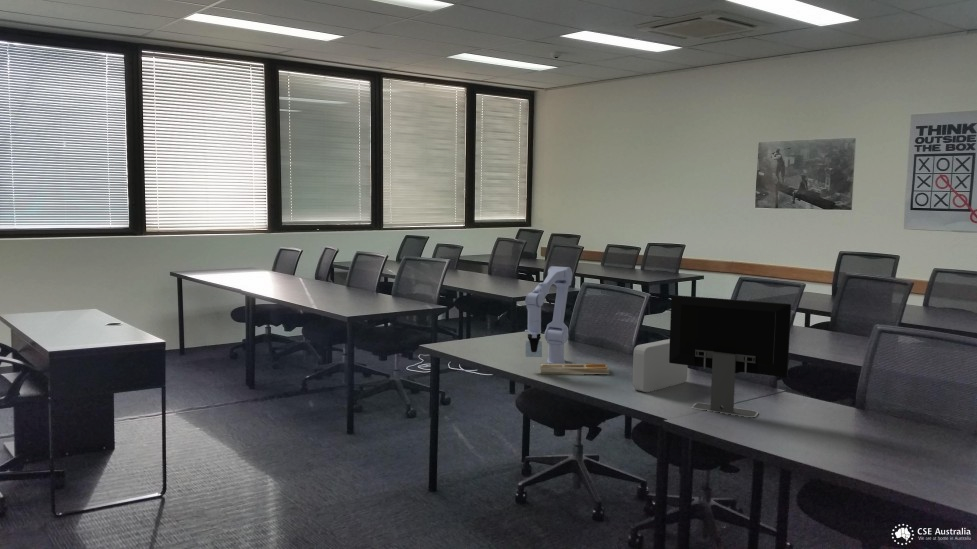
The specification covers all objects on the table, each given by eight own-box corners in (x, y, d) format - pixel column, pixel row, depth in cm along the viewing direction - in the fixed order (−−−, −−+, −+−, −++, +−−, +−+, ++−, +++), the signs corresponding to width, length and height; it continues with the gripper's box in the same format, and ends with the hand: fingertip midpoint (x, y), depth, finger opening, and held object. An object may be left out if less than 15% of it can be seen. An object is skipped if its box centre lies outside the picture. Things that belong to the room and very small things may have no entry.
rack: (540, 368, 323) (540, 362, 323) (606, 369, 322) (606, 363, 322) (540, 373, 314) (541, 367, 314) (609, 374, 313) (609, 368, 313)
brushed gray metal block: (525, 355, 320) (525, 340, 319) (541, 355, 319) (541, 341, 319) (525, 356, 317) (525, 342, 317) (541, 357, 317) (541, 342, 316)
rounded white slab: (671, 378, 308) (673, 336, 306) (687, 382, 302) (688, 339, 300) (627, 389, 290) (628, 344, 288) (642, 393, 284) (644, 348, 282)
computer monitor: (786, 416, 256) (792, 303, 251) (782, 422, 248) (788, 306, 244) (670, 399, 276) (674, 294, 272) (664, 404, 269) (667, 296, 265)
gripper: (525, 317, 324) (524, 347, 326) (525, 323, 310) (524, 354, 311) (540, 317, 324) (540, 347, 325) (541, 323, 309) (541, 354, 311)
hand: (533, 351), depth 318 cm, fingers closed on brushed gray metal block, 2 cm apart
